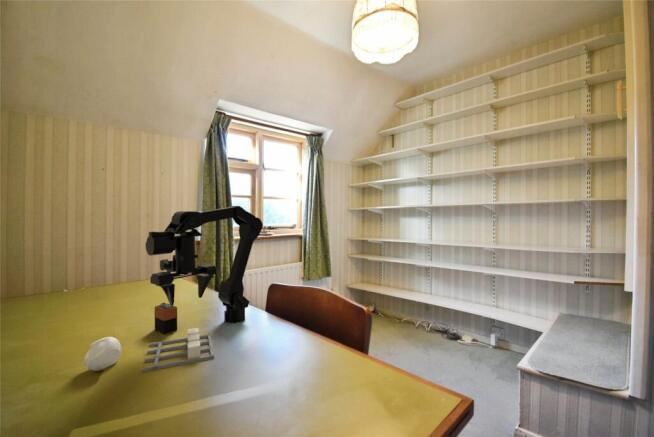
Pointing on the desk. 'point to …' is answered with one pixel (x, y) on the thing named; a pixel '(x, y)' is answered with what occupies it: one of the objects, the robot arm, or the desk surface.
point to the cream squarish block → (193, 331)
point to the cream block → (193, 349)
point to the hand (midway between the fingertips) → (186, 301)
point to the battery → (165, 318)
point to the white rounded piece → (103, 353)
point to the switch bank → (176, 353)
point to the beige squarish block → (193, 338)
